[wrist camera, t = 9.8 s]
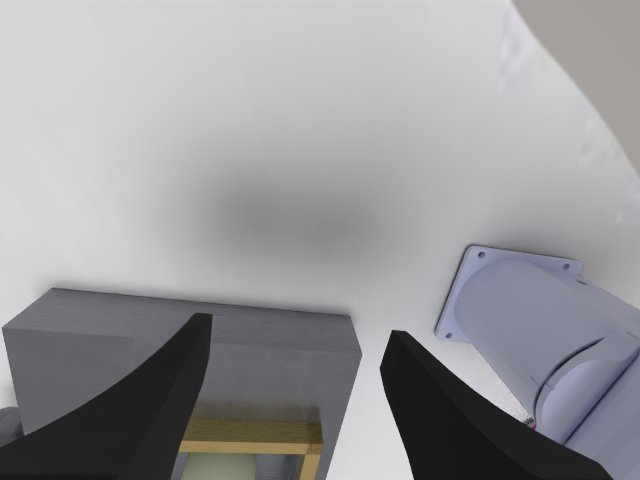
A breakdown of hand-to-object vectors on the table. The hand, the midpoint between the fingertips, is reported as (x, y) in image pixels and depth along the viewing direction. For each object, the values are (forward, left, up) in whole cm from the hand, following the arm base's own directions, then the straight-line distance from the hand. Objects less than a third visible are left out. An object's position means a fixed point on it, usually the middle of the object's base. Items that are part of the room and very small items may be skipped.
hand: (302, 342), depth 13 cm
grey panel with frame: (+6, +16, -9) cm, 20 cm away
